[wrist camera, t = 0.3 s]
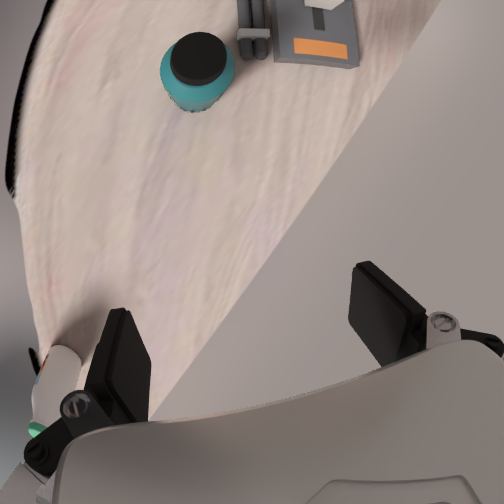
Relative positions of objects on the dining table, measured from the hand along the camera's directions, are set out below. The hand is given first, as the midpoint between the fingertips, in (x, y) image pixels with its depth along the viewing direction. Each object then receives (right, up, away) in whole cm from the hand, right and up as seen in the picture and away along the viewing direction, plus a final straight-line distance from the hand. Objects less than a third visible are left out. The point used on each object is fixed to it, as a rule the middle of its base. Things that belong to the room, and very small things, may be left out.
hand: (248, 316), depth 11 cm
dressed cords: (0, +37, +17) cm, 41 cm away
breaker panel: (+9, +39, +19) cm, 44 cm away
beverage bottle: (-7, +24, +22) cm, 33 cm away
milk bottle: (-37, -19, +34) cm, 54 cm away
